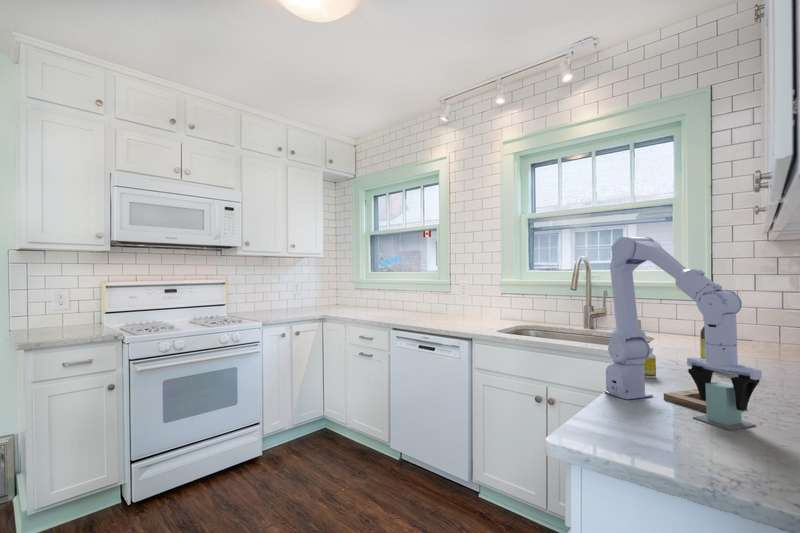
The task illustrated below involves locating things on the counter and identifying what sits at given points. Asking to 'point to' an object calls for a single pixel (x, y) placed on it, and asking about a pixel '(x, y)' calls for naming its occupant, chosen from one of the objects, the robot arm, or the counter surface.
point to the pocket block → (687, 399)
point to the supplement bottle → (650, 365)
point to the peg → (722, 403)
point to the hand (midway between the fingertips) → (722, 404)
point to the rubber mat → (728, 427)
